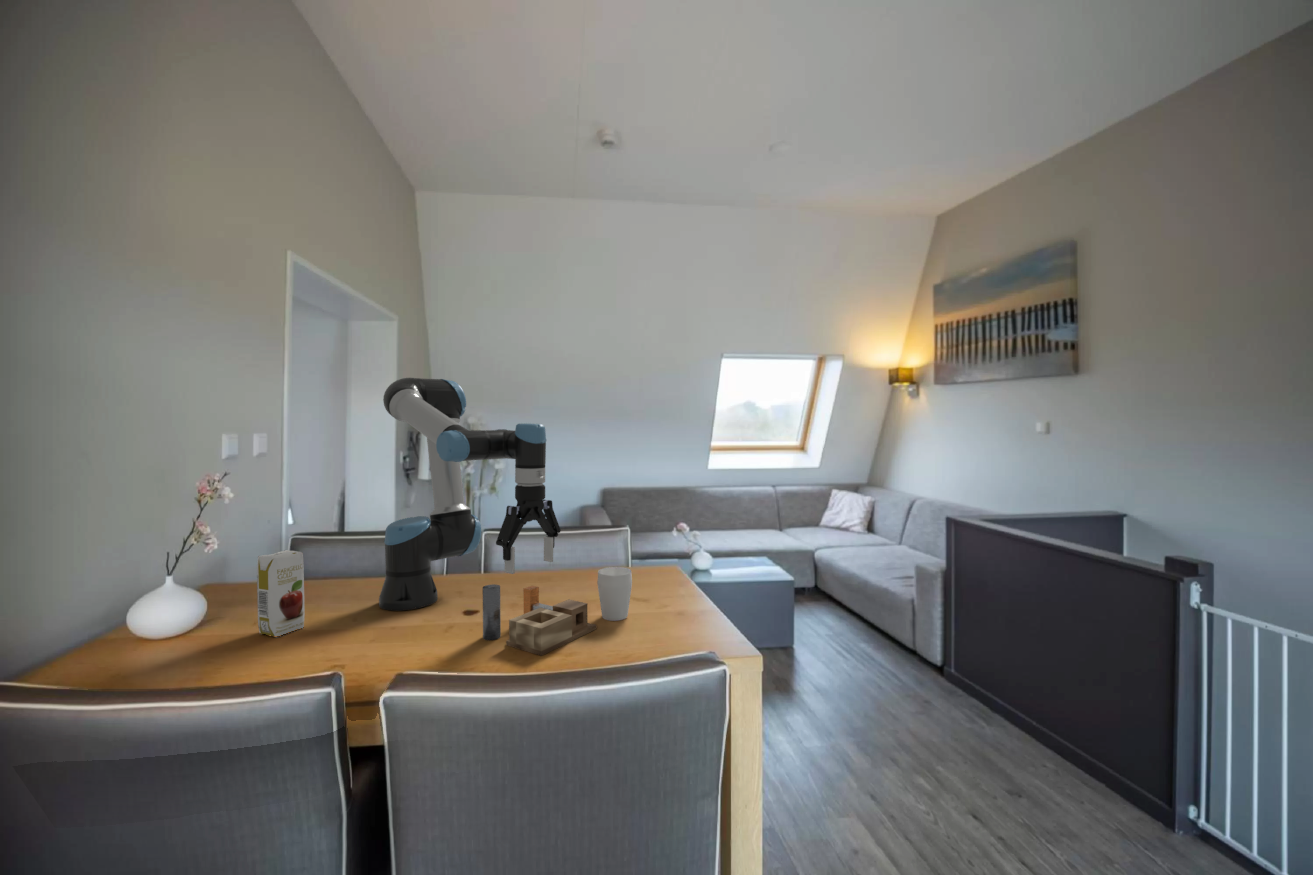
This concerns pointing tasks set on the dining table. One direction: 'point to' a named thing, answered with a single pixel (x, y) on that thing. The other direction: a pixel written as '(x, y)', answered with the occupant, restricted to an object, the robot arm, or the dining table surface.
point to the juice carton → (280, 592)
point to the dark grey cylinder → (491, 612)
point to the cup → (614, 592)
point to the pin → (533, 600)
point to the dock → (576, 624)
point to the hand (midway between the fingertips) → (529, 566)
